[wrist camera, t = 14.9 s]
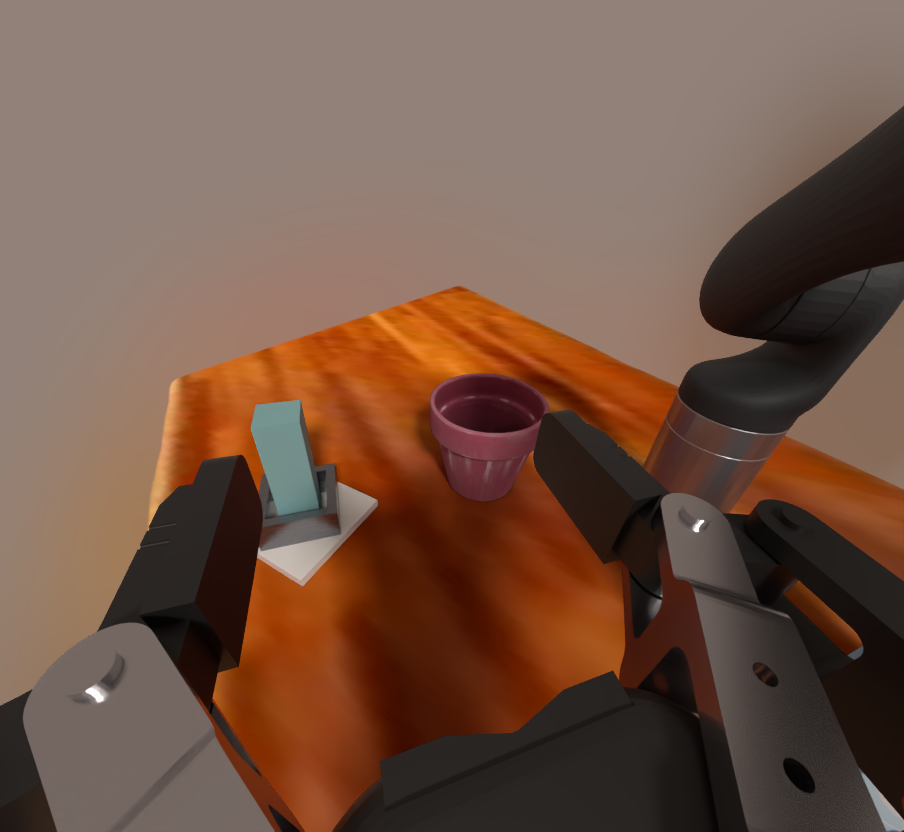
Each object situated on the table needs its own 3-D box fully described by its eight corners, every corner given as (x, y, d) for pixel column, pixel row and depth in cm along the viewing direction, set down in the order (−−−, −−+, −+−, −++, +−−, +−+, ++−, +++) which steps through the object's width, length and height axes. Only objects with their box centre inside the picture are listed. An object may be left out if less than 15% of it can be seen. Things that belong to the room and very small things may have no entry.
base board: (306, 472, 48) (305, 466, 47) (378, 505, 43) (377, 500, 43) (223, 535, 39) (220, 530, 38) (302, 586, 34) (300, 580, 34)
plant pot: (468, 537, 40) (479, 450, 33) (409, 466, 50) (408, 387, 43) (552, 490, 47) (576, 410, 40) (487, 436, 57) (497, 364, 50)
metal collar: (269, 496, 42) (262, 474, 41) (337, 484, 45) (334, 463, 43) (260, 551, 36) (252, 529, 34) (341, 534, 38) (337, 512, 36)
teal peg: (286, 505, 41) (256, 404, 34) (322, 498, 43) (300, 399, 35) (284, 531, 38) (250, 428, 31) (322, 523, 39) (299, 421, 32)
